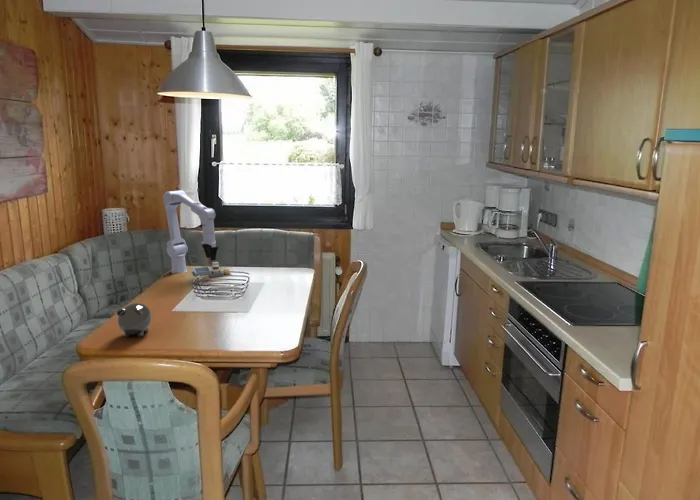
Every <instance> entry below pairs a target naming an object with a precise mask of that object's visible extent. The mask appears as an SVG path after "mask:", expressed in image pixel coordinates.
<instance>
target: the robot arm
mask: <svg viewBox="0 0 700 500" xmlns="http://www.w3.org/2000/svg"><path fill="white" fill-rule="evenodd" d="M162 200H163V205H164V206H163V207H164V208H165V214H166V220H167V224H168V225H167V226H168V232H169V240H168V241H167V242H166V252H167V253H166V254H167V255H168V256H169V257H170V261H171V268H172V269H170V272H171V273H172V275H174V274H179V273H188V272H189V271H188V269H187V266H186V265H187V264H186V255H187V253H188V249H189V248H188V245H187V243H186V239H184V238H183V237H182V235H181V231H180V224H179V217H178V212H177V208H178V207H179V206H180V205H181V204H184V205H186V206H187V207H189V208H190V211H191V212H193V213H194V214H196V215H197V216H198V219H199V220H200V224H201V225H202V237H203V238H202V239H203V241H201V242H200V244H201V247H202V248H203V250H204V253H205V257H206V258H207V259H209V258H210V260H211V262H213V261H216V260H217V259H216V257H217V253H218V249H219V246H218V245H216V244H217V241H216V234H215V222H214V221H215V218H216V216H217V215H216V214H217V213H216V211H215V209H213V208H212V207H207V206H205V205H204V204H202V203H201V202H200V201H194V200H193V199H192V198H191V197H189V196H188V195H187V192H186V191H184V190H182V189H179V190H172V191H165V192H164V194H163V196H162Z"/></svg>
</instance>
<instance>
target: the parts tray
mask: <svg viewBox="0 0 700 500" xmlns="http://www.w3.org/2000/svg"><path fill="white" fill-rule="evenodd" d="M212 271H213V269H211V268H210V267H209V266H202V267H194V268H192V273H193V275H195V277H199V275H201V276H208V275H209V272H212ZM209 276H210V275H209Z"/></svg>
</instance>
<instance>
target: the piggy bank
mask: <svg viewBox="0 0 700 500" xmlns="http://www.w3.org/2000/svg"><path fill="white" fill-rule="evenodd" d="M116 315H117V316H118V317H117V326H118V328H119V330H120V331H121V332H123V334H124V337H125V338H130V337H131V335H137V337H138V338H143V337H144V333H148V332H149V326H150V325H151V323H152V319H153V318H152V312H151V310H150V308H149V307H148V306H147V305H145V304H143V303H140V302H133V303H130V304H127V305H125V306H124V307H123V308H119V309H118V310H117V311H116Z"/></svg>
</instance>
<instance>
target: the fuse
mask: <svg viewBox="0 0 700 500" xmlns="http://www.w3.org/2000/svg"><path fill="white" fill-rule="evenodd" d="M211 266H212V269H211V270H212V271H213V274H215V273H219V271H220V265H219V261H211Z"/></svg>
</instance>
